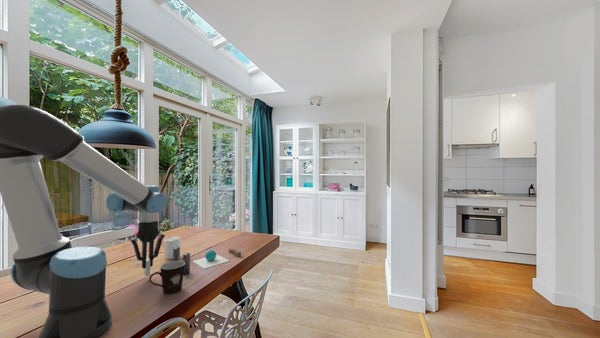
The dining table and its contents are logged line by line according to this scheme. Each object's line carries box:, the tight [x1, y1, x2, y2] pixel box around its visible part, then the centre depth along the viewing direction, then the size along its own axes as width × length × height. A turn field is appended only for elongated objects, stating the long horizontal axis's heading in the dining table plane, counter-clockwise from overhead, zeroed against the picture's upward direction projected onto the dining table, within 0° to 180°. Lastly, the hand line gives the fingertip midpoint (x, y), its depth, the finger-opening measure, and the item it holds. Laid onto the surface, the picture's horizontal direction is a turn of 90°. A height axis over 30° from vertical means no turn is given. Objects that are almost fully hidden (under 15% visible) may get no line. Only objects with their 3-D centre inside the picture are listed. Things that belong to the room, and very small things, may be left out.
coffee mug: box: [148, 260, 185, 295], centre depth 90 cm, size 12×9×10 cm
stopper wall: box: [228, 248, 242, 258], centre depth 132 cm, size 10×2×2 cm, turn 47°
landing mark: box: [192, 254, 230, 270], centre depth 121 cm, size 14×14×1 cm
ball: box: [204, 249, 217, 261], centre depth 123 cm, size 6×6×6 cm
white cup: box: [163, 236, 181, 260], centre depth 128 cm, size 8×8×10 cm
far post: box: [172, 246, 181, 261], centre depth 115 cm, size 3×3×9 cm
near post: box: [182, 252, 191, 276], centre depth 106 cm, size 3×3×9 cm
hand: (147, 274), depth 100 cm, fingers closed
